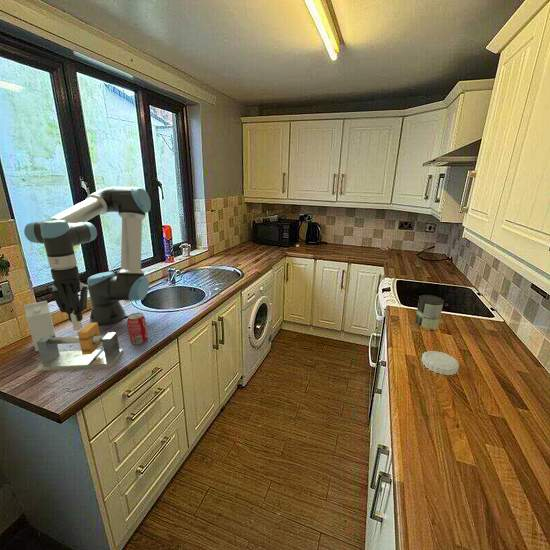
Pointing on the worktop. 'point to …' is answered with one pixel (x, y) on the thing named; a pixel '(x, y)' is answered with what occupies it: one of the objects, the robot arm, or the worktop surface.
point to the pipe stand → (77, 353)
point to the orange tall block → (89, 338)
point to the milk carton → (39, 321)
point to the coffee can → (429, 311)
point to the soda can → (137, 328)
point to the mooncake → (440, 362)
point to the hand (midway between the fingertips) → (78, 328)
